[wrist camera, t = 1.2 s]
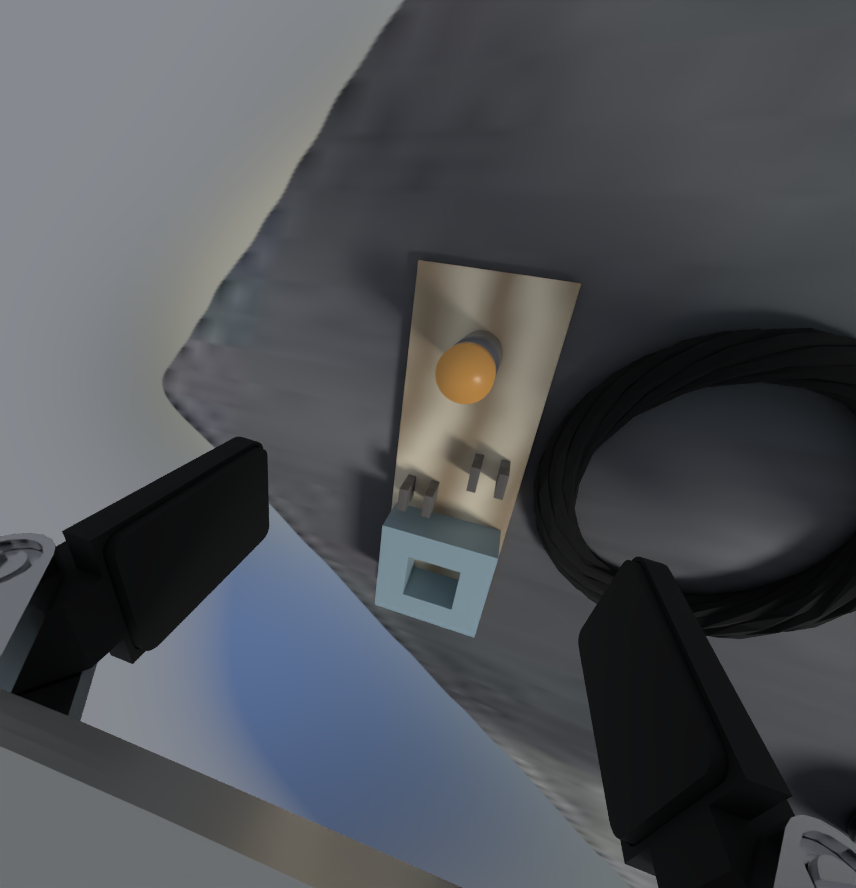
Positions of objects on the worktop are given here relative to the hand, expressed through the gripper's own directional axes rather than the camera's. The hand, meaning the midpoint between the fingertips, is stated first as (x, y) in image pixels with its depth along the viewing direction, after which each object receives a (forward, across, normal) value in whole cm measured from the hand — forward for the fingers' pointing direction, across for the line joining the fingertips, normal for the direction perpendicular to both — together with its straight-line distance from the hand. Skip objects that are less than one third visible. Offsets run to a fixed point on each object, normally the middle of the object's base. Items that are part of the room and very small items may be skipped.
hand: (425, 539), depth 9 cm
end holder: (+21, -1, +21) cm, 30 cm away
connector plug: (+22, +1, -1) cm, 22 cm away
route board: (+23, 0, +11) cm, 25 cm away
